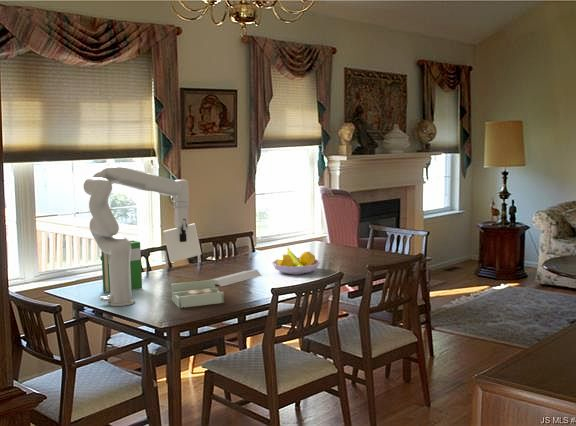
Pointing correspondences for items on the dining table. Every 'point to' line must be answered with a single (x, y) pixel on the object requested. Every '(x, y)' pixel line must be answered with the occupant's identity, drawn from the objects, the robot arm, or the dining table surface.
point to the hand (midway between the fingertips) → (182, 241)
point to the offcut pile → (198, 292)
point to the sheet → (182, 243)
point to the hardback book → (134, 267)
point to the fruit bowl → (296, 263)
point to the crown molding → (236, 277)
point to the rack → (196, 300)
